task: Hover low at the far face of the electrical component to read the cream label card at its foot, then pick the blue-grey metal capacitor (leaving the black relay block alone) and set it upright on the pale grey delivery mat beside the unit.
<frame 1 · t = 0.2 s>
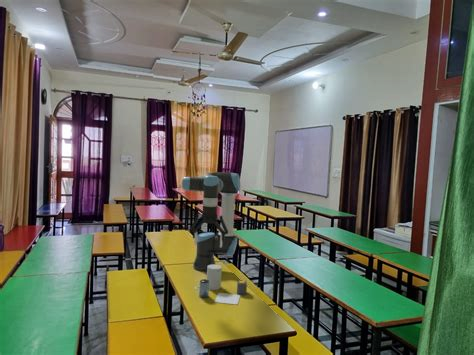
hand: (208, 245, 178), 28 cm above the table, fingers open, 13 cm apart
cup: (213, 287, 195), on the table
delivery mat: (227, 298, 179), on the table
capacitor: (203, 296, 181), on the table
relay block: (241, 293, 188), on the table
label card: (199, 288, 192), on the table
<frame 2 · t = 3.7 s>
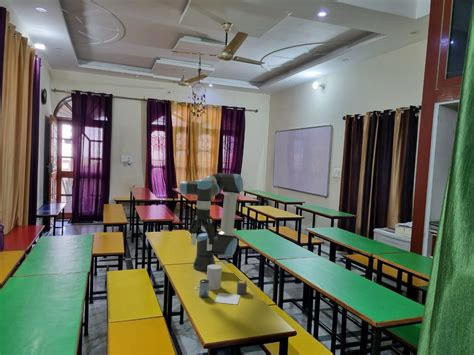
hand: (201, 247, 183), 25 cm above the table, fingers open, 13 cm apart
nothing on the table moved.
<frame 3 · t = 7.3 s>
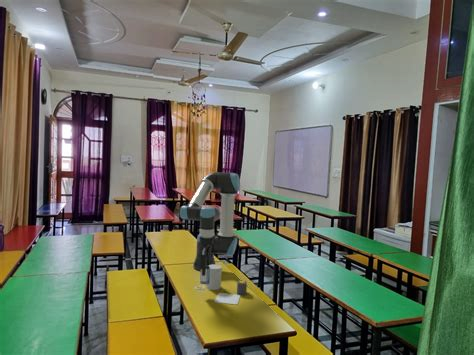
hand: (204, 278, 181), 9 cm above the table, fingers closed on capacitor, 5 cm apart
capacitor: (204, 282, 181), point 7 cm above the table, touching gripper
everything else where it was.
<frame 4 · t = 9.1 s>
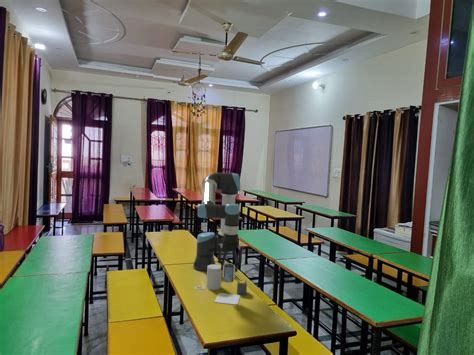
hand: (228, 277, 178), 12 cm above the table, fingers closed on capacitor, 5 cm apart
capacitor: (228, 280, 179), point 10 cm above the table, touching gripper
everything else where it was.
when the fingers open (1 cm above the table, at t = 10.9 s): capacitor stays where it is, resting on delivery mat.
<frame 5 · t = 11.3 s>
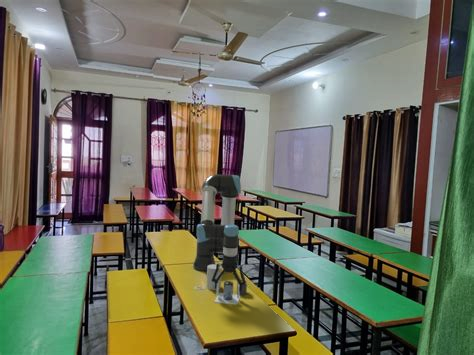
hand: (227, 295, 179), 2 cm above the table, fingers open, 10 cm apart
capacitor: (227, 298, 179), resting on delivery mat
everything else where it was.
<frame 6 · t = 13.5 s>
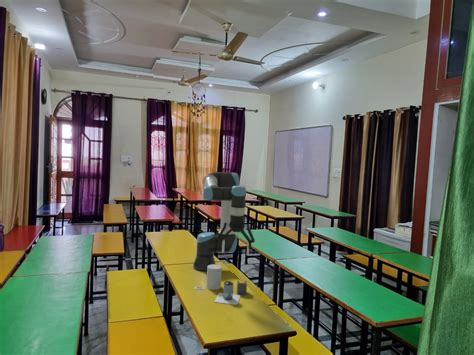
hand: (235, 253, 184), 23 cm above the table, fingers open, 13 cm apart
nothing on the table moved.
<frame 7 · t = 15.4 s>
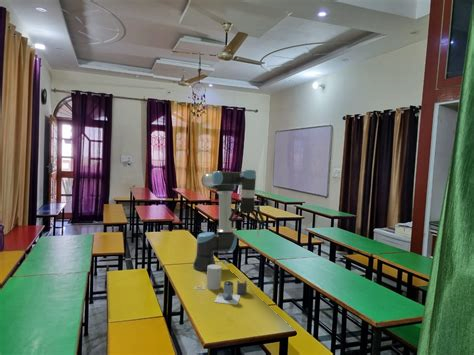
hand: (245, 234, 192), 32 cm above the table, fingers open, 13 cm apart
nothing on the table moved.
at the end: capacitor inside the target area on the delivery mat (0.1 cm from its centre), point 0.3 cm above the delivery mat's base; capacitor tilted 0°; the gripper is holding nothing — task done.
